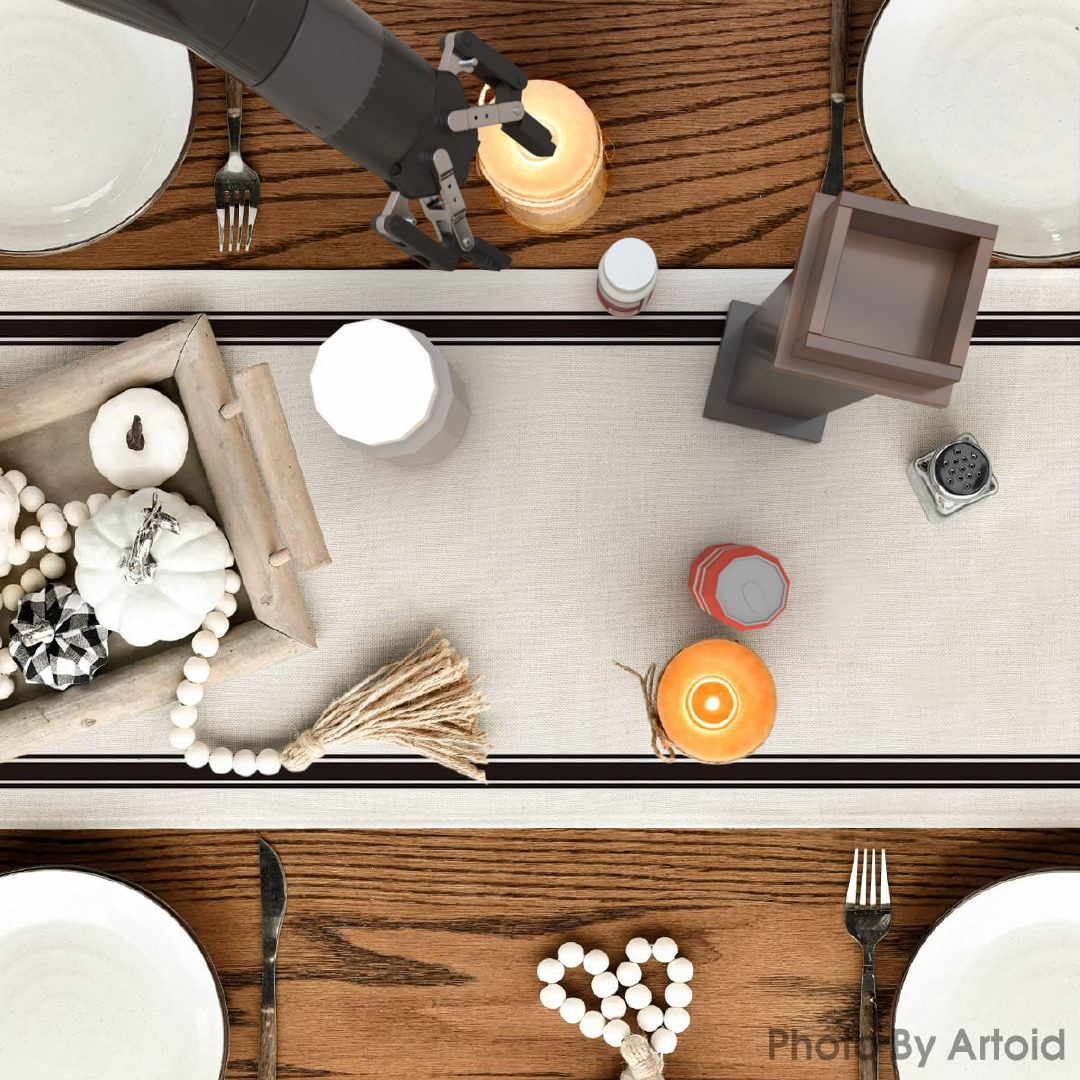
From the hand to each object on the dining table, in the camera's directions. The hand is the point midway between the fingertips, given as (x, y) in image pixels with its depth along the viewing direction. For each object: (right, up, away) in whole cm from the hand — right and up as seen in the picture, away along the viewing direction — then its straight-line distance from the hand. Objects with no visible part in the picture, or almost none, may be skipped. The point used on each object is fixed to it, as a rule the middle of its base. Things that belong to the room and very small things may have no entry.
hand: (526, 207), depth 67 cm
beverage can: (+17, -27, +13) cm, 34 cm away
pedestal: (+21, -10, +12) cm, 26 cm away
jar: (-10, -13, +13) cm, 21 cm away
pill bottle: (+8, -3, +12) cm, 15 cm away
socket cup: (+20, -11, -14) cm, 27 cm away
